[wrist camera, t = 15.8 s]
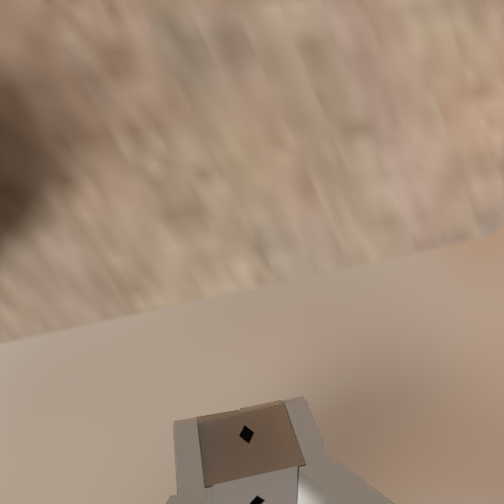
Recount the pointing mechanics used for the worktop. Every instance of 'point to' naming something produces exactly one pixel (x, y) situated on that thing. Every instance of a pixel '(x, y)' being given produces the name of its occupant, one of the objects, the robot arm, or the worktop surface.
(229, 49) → the worktop surface
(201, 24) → the worktop surface
